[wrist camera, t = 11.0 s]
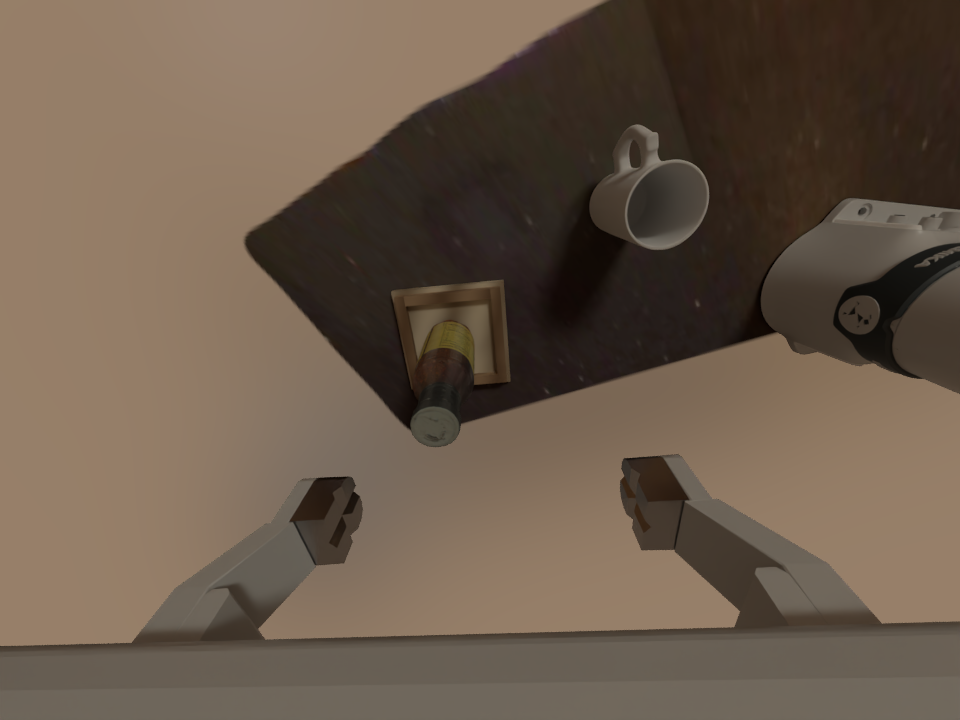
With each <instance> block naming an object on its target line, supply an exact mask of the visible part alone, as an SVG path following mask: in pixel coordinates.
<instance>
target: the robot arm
mask: <svg viewBox="0 0 960 720" xmlns="http://www.w3.org/2000/svg"><path fill="white" fill-rule="evenodd" d="M859 210H860V212H859V213H858V211H859ZM761 309H762V313H763V316H764V318H765V320H766V322H767V323H768V325H769V326H770V327H771V328H772V329H774V330H775V331H777V332H778V333H780V334H782V335H783V336H784V337H785V338H786V339H787V341H788V344H789V346H790V347H791V349H792V350H793V351H795V352H797V353H800V354H810V353H814V352H820V353H822V354H825V355H828V356H830V357H833V358H835V359H838V360H841V361H844V362H846V363H849V364H852V365H856V366H862V365H863V364H871V363H875V364H876V365H877V366H880V367H881V368H884V369H886V370H889V371H891V372H894V373H899V374H902V375H904V376H907V377H911V378H917V379H926V380H928V381H930V382H933V383H935V384H937V385H940V386H942V387H945V388H947V389H949V390H952V391H954V392H957V393H959V394H960V210H956V209H948V208H939V207H930V206H921V205H911V204H902V203H893V202H884V201H875V200H866V199H857V198H848V199H845V200H843V201H842V202H841V203H839V204H838V205H837V206H836V207H835V208H834V209H833V210H832V211H831V212H830V214H829V215H828V216H827V217H826V218H825V219H824V220H823V222H822V223H820V224H819V225H818V226H816V227H815V228H814V229H812V230H810V231H809V232H807V233H806V234H804V235H803V236H801V237H800V238H798V239H797V240H796V241H795V242H793V243H792V244H791V245H790V246H789V247H788V248H787V249H786V250H785V251H784V252H783V253H782V254H781V255H780V257H779V258H778V259H777V260H776V262H775V263H774V265H773V266H772V268H771V269H770V271H769V273H768V275H767V277H766V279H765V282H764V285H763V288H762V293H761ZM621 469H622V471H623V473H624V477H623V478H622V480H621V481H620V492H621V499H622V503H623V506H624V509H625V511H626V514H627V515H628V516H630V517H631V518H632V519H633V526H632V529H633V531H634V533H635V536H636V538H637V541H638V543H639V545H640V548H641V550H675V552H676V553H677V554H678V555H679V556H681V557H682V558H683V559H684V560H685V561H686V562H687V563H688V564H689V565H690V566H691V567H693V569H695V570H696V571H697V572H698V573H699V574H700V575H701V576H702V577H703V578H704V579H706V580H707V581H708V582H709V583H710V584H711V585H712V586H713V587H714V588H716V590H718V591H719V592H720V593H721V594H722V595H723V596H724V597H725V598H726V599H728V601H730V602H731V603H732V604H733V605H734V606H735V607H736V608H737V609H738V610H739V611H740V614H739V616H738V619H737V622H736V625H735V627H734V628H733V627H732V628H693V629H659V630H658V629H656V630H618V631H617V630H616V631H579V632H543V633H542V632H540V633H505V634H466V635H427V636H391V637H351V638H313V639H274V640H265V639H264V637H263V636H262V634H261V633H260V632H259V630H258V628H259V627H260V626H261V625H262V624H263V623H264V622H265V621H266V620H267V619H268V618H269V617H270V616H271V614H272V613H273V612H274V611H275V610H276V609H277V608H278V607H279V606H280V605H281V604H282V603H283V602H284V601H285V599H286V598H287V597H288V596H289V595H290V594H291V593H292V592H293V591H294V590H295V589H296V588H297V587H298V585H299V584H300V583H301V582H302V581H303V580H304V579H305V578H306V577H307V576H308V575H309V574H310V572H312V570H313V569H314V568H315V567H316V566H315V565H327V564H340V563H344V562H345V560H346V557H347V555H348V552H349V550H350V547H351V544H352V539H351V536H350V535H351V534H352V533H353V532H354V531H356V530H357V529H358V527H359V524H360V521H361V518H362V510H363V509H362V501H361V499H360V496H359V495H357V494H356V493H355V492H353V490H354V488H355V486H356V485H355V483H354V480H353V478H352V477H325V478H309V479H302V480H300V481H299V482H298V483H297V484H296V486H295V487H294V489H293V491H292V492H291V493H290V495H289V496H288V498H287V499H286V501H285V502H284V504H283V505H282V507H281V509H280V510H279V511H278V513H277V514H276V516H275V517H274V519H273V520H272V522H271V523H269V524H264V525H263V526H262V527H260V528H259V529H257V530H256V531H255V532H253V533H252V534H250V535H249V536H248V537H246V538H245V539H243V540H242V541H241V542H239V543H238V544H237V545H235V546H234V547H233V548H231V549H230V550H228V551H227V552H225V553H224V554H223V555H221V556H220V557H218V558H217V559H216V560H214V561H213V562H211V563H210V564H209V565H207V566H206V567H204V568H203V569H202V570H200V571H199V572H198V573H196V574H195V575H193V576H192V577H191V578H189V579H188V580H186V581H185V582H183V583H182V584H181V585H179V586H178V587H176V588H175V589H174V590H173V592H172V593H171V594H170V595H169V597H168V598H167V599H166V601H165V602H164V603H163V604H162V605H161V607H160V608H159V609H158V610H157V612H156V613H155V614H154V615H153V617H152V618H151V619H150V620H149V622H148V623H147V624H146V625H145V627H144V628H143V629H142V630H141V632H140V633H139V634H138V635H137V637H136V638H135V639H134V641H133V642H132V643H114V644H76V645H35V646H0V720H960V622H925V623H888V624H887V623H886V624H882V623H881V622H880V621H879V620H878V619H877V617H875V615H874V614H873V613H872V612H871V611H870V610H869V609H868V608H867V606H866V605H865V604H864V603H863V602H862V601H861V600H860V599H859V597H858V596H857V595H856V594H855V593H854V592H853V591H852V590H851V588H850V587H849V586H848V585H847V584H846V583H845V582H844V581H843V580H842V578H841V577H840V576H839V575H838V574H837V573H836V572H835V571H834V569H833V568H832V567H831V566H830V565H829V564H828V563H826V562H824V561H823V560H821V559H819V558H818V557H816V556H814V555H813V554H811V553H809V552H808V551H806V550H804V549H802V548H800V547H799V546H797V545H796V544H794V543H792V542H790V541H789V540H787V539H785V538H783V537H782V536H780V535H779V534H777V533H775V532H773V531H772V530H770V529H768V528H767V527H765V526H763V525H762V524H760V523H758V522H756V521H755V520H753V519H751V518H750V517H748V516H746V515H744V514H743V513H741V512H739V511H738V510H736V509H734V508H733V507H731V506H729V505H728V504H726V503H724V502H722V501H721V500H719V499H712V498H711V497H710V495H709V494H708V493H707V491H706V490H705V488H704V487H703V486H702V484H701V483H700V481H699V480H698V479H697V477H696V476H695V474H694V473H693V472H692V470H691V469H690V467H689V466H688V465H687V463H686V462H685V460H684V459H683V458H682V457H681V456H680V455H678V454H676V455H663V456H652V457H638V458H624V459H623V461H622V468H621Z"/></svg>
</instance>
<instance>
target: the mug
mask: <svg viewBox="0 0 960 720" xmlns="http://www.w3.org/2000/svg"><path fill="white" fill-rule="evenodd" d="M632 140H635V141H636V142H637V143H638V145H639V148H640V151H641V166H640V168H632V167H631V165H630V161H629V148H630V144H631V142H632ZM657 149H658V133H656V132H651V131H650V130H649V129H647V128H646V127H644V126H641V125H633V126H631V127H629V128H628V129H626V130H625V132H624V133H623V134H622V136H621V137H620V139H619V141H618V143H617V145H616V147H615V149H614V150H613V160H614V169H615V170H614V174H611V175H609V176H607V177H606V178H604V179H603V180H602V181H601V182H600V183H599V184H598V185H597V186H596V188H595V189H594V191H593V193H592V196H591V199H590V204H589V211H590V216H591V219H592V221H593V222H594V224H595V225H596V226H597V227H598V228H599V229H601V230H603V231H605V232H607V233H609V234H612V235H614V236H617V237H619V238H622V239H624V240H627V241H629V242H632V243H634V244H637V245H639V246H642V247H645V248H647V249H652V250H664V249H669V248H672V247H674V246H676V245H678V244H680V243H682V242H683V241H685V240H686V239H687V238H688V237H690V236H691V235H692V234H693V233H694V231H695V230H696V229H697V228H698V226H699V225H700V223H701V222H702V220H703V218H704V216H705V213H706V210H707V207H708V202H709V188H708V183H707V180H706V178H705V176H704V174H703V173H702V172H701V170H700V169H699V168H698V167H696V166H695V165H694V164H692V163H690V162H687V161H684V160H667V161H660V159H659V158H658V154H657Z"/></svg>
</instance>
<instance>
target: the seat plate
mask: <svg viewBox="0 0 960 720" xmlns="http://www.w3.org/2000/svg"><path fill="white" fill-rule="evenodd" d="M391 294H392V299H393V304H394V309H395V313H396V318H397V323H398V327H399V332H400V337H401V342H402V346H403V351H404V356H405V360H406V365H407V370H408V375H409V379H410V384H411V389H412V380H413V376H414V373H415V368H416V364H417V362H418V359H419V356H420V354H421V351H422V348H423V345H424V343H425V340H426V337H427V335H428V333H429V332H430V330H431V329H432V327H433V326H435V325H436V324H438V323H440V322H442V321H445V320H454V321H458V322H460V323H462V324H464V325H465V326H467V327H468V329H469V330H470V332H471V334H472V336H473V339H474V345H475V351H474V353H475V354H474V359H475V360H474V385H478V384H490V383H503V382H510V368H509V353H508V338H507V324H506V309H505V295H504V281H503V280H496V281H485V282H475V283H464V284H453V285H443V286H432V287H422V288H411V289H401V290H393V291H392V292H391Z"/></svg>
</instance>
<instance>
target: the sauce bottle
mask: <svg viewBox="0 0 960 720" xmlns="http://www.w3.org/2000/svg"><path fill="white" fill-rule="evenodd" d="M474 351H475V345H474V339H473V336H472V334H471V332H470V330H469V329H468V327H467V326H465V325H464V324H462V323H460V322H458V321H454V320H445V321H442V322H440V323H438V324H436V325H435V326H433V327H432V329H431V330H430V332H429V333H428V335H427V337H426V340H425V343H424V345H423V348H422V351H421V354H420V356H419V359H418V362H417V364H416V368H415V373H414V376H413V380H412V389H413V391H414V394H415V397H416V398H417V400H418V405H417V407H416V408H415V410H414V412H413V415H412V417H411V422H410V427H411V432H412V435H413V436H414V437H415V438H416V439H417V440H418V441H419V442H420V443H422V444H424V445H426V446H430V447H441V446H446V445H448V444H450V443H452V442H453V441H454V440H455V439H456V438H457V436H458V434H459V431H460V426H461V416H460V413H459V412H460V407H461V406H462V404H463V403H464V402H465V401H466V400H467V399H468V398H469V397H470V395H471V393H472V391H473V387H474V360H475V359H474V354H475V353H474Z"/></svg>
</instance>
